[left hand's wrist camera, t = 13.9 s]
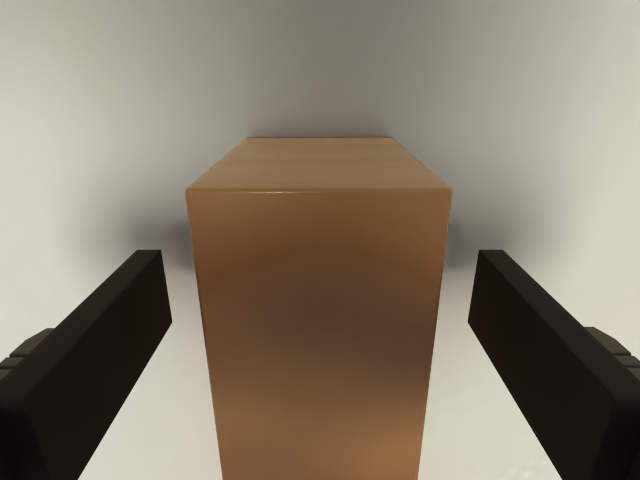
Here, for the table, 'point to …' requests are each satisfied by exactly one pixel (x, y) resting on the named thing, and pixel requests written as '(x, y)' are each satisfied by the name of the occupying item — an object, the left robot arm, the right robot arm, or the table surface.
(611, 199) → the table surface
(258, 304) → the bar
